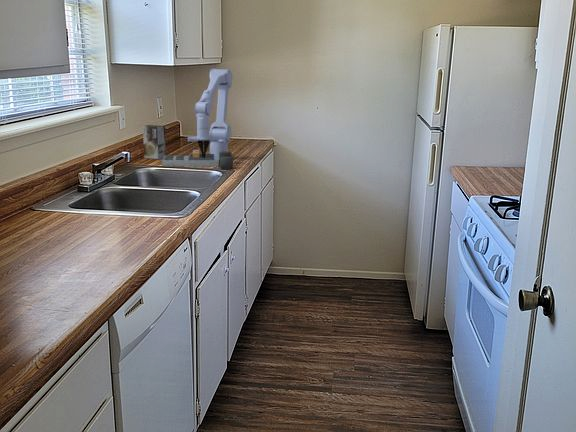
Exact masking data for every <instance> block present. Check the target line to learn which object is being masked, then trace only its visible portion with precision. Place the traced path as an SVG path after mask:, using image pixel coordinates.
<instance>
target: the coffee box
mask: <svg viewBox="0 0 576 432" xmlns="http://www.w3.org/2000/svg"><path fill="white" fill-rule="evenodd" d="M165 128H166V126H165V125H160V124H159V125H158V124H146V125H143V126H142V137H143V139H142V140H143V157H144V159H153V160H160V159H161V160H162V159H163V157H164V156H167V154H166V132H165V131H166V129H165Z"/></svg>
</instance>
